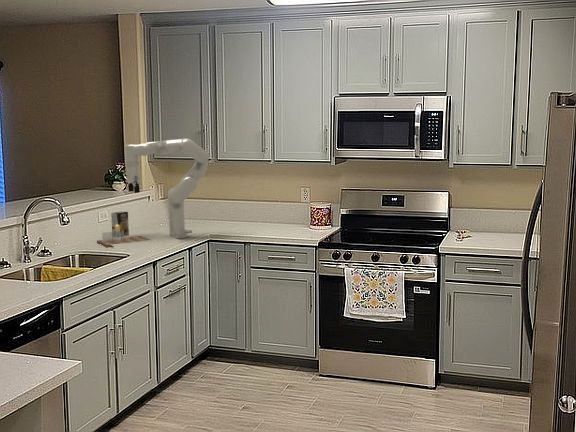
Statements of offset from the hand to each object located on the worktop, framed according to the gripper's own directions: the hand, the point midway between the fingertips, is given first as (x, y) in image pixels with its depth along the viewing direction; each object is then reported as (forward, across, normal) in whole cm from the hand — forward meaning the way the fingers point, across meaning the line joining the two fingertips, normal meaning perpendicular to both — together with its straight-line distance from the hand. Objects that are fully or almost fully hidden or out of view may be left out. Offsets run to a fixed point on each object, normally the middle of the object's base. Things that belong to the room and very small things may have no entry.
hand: (134, 192), depth 451 cm
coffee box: (+30, -16, -5) cm, 34 cm away
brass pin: (+28, +5, -14) cm, 32 cm away
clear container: (+28, +2, -17) cm, 33 cm away
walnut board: (+30, +5, -10) cm, 32 cm away
